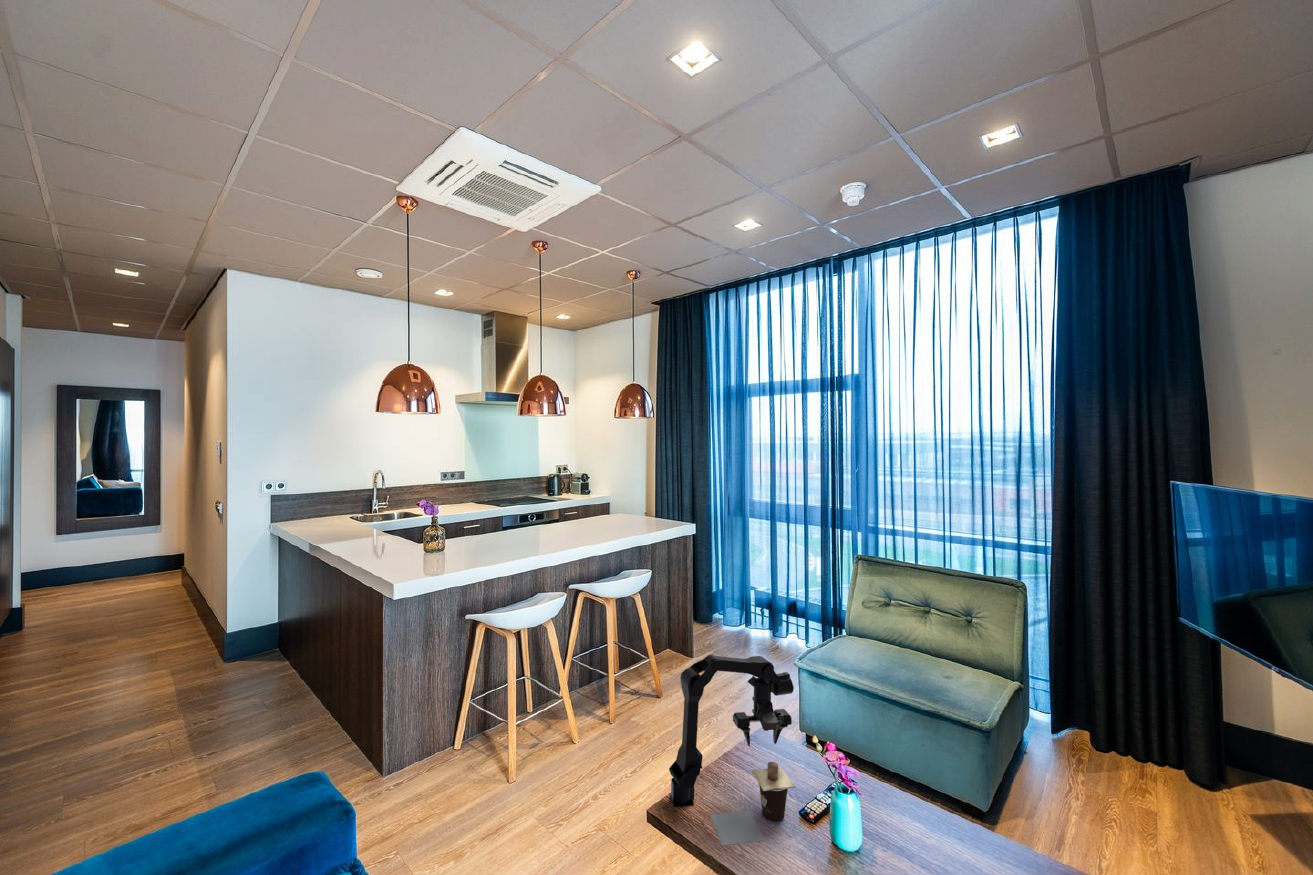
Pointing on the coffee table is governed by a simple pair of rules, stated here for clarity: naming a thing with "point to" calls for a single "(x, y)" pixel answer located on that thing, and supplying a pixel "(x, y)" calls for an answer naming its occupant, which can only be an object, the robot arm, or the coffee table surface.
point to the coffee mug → (773, 804)
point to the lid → (772, 778)
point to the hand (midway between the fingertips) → (761, 744)
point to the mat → (737, 828)
